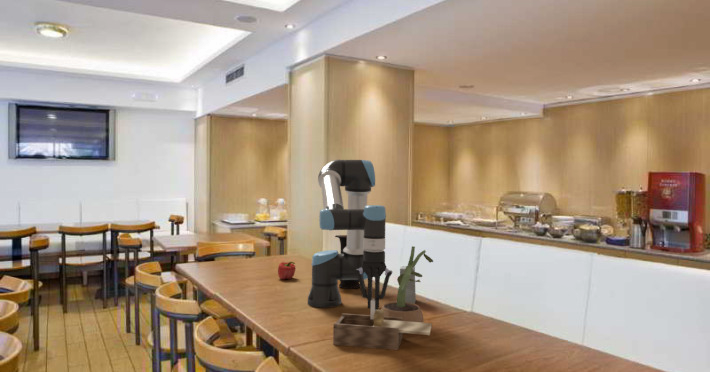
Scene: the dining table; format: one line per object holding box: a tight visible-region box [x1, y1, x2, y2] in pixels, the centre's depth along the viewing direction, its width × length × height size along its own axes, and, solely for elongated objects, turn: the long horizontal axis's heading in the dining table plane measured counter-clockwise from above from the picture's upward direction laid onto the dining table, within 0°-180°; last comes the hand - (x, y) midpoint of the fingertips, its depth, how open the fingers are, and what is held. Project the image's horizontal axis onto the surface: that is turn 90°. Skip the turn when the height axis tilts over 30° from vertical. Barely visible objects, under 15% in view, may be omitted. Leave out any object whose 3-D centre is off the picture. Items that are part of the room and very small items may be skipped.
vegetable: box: [277, 261, 296, 280], centre depth 266 cm, size 11×10×10 cm
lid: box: [373, 309, 433, 336], centre depth 163 cm, size 19×10×5 cm, turn 77°
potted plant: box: [380, 245, 434, 323], centre depth 184 cm, size 22×18×30 cm
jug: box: [334, 234, 360, 290], centre depth 247 cm, size 21×18×30 cm
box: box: [332, 313, 403, 351], centre depth 166 cm, size 22×13×7 cm, turn 78°
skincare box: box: [399, 265, 417, 304], centre depth 220 cm, size 8×7×16 cm
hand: (373, 318), depth 165 cm, fingers closed
